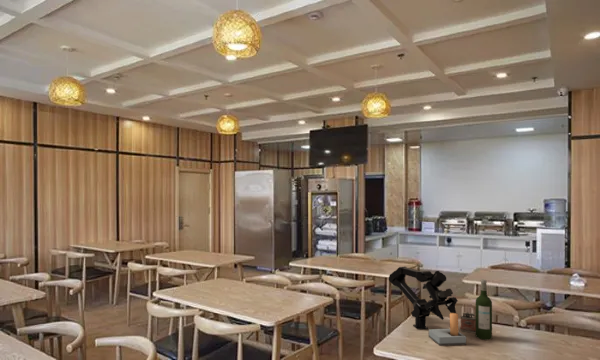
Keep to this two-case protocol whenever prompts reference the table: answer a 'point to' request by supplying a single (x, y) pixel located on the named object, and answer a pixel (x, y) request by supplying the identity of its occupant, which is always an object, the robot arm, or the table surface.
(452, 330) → the pin
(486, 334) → the wine bottle
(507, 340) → the table surface
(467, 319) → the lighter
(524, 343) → the table surface
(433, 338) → the socket block
